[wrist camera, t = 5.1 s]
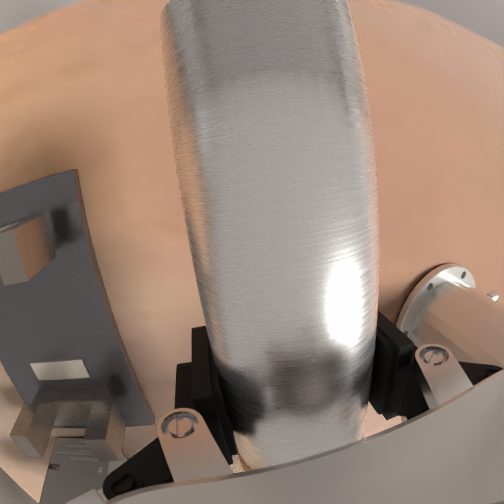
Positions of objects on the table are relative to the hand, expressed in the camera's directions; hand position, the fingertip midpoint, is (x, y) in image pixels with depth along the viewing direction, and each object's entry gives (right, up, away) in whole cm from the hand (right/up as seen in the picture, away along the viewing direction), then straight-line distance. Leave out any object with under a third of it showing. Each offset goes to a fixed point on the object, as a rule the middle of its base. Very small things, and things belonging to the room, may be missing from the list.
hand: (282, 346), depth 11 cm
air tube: (0, -1, -2) cm, 2 cm away
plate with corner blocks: (-19, -3, +11) cm, 22 cm away
